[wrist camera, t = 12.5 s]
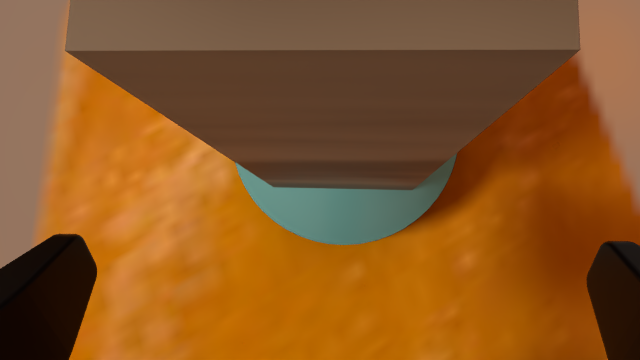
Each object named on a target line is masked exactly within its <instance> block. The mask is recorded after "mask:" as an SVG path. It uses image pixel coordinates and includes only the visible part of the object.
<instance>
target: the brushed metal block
mask: <svg viewBox="0 0 640 360" xmlns="http://www.w3.org/2000/svg"><path fill="white" fill-rule="evenodd" d="M579 50H580V34H579V14H578V0H70V9H69V19H68V28H67V37H66V46H65V51H66V52H68V53H69V54H71V55H72V56H74V57H75V58H77V59H78V60H80V61H81V62H83V63H85V64H86V65H88V66H89V67H91V68H92V69H94V70H95V71H97V72H98V73H100V74H101V75H103V76H104V77H106V78H107V79H109V80H110V81H112V82H114V83H115V84H117V85H118V86H120V87H121V88H123V89H124V90H126V91H127V92H129V93H130V94H132V95H133V96H135V97H136V98H138V99H139V100H141V101H143V102H144V103H146V104H147V105H149V106H150V107H152V108H153V109H155V110H156V111H158V112H159V113H161V114H162V115H164V116H165V117H167V118H168V119H170V120H171V121H173V122H175V123H176V124H178V125H179V126H181V127H182V128H184V129H185V130H187V131H188V132H190V133H191V134H193V135H194V136H196V137H197V138H199V139H200V140H202V141H204V142H205V143H207V144H208V145H210V146H211V147H213V148H214V149H216V150H217V151H219V152H220V153H222V154H223V155H225V156H226V157H228V158H229V159H231V160H232V161H234V162H236V163H237V164H239V165H240V166H242V167H243V168H245V169H246V170H248V171H249V172H251V173H252V174H254V175H255V176H257V177H258V178H260V179H261V180H263V181H265V182H266V183H268V184H269V185H271V186H272V187H278V188H325V189H372V190H413V189H414V188H416V187H417V186H418V185H419V184H420V183H422V182H423V181H424V180H425V179H426V178H428V177H429V176H430V175H431V174H432V173H433V172H435V171H436V170H437V169H438V168H439V167H441V166H442V165H443V164H444V163H445V162H447V161H448V160H449V159H450V158H451V157H453V156H454V155H455V154H456V153H457V152H459V151H460V150H461V149H462V148H463V147H465V146H466V145H467V144H468V143H469V142H470V141H472V140H473V139H474V138H475V137H476V136H478V135H479V134H480V133H481V132H482V131H484V130H485V129H486V128H487V127H488V126H490V125H491V124H492V123H493V122H494V121H496V120H497V119H498V118H499V117H500V116H502V115H503V114H504V113H505V112H506V111H508V110H509V109H510V108H511V107H512V106H513V105H515V104H516V103H517V102H518V101H519V100H521V99H522V98H523V97H524V96H525V95H527V94H528V93H529V92H530V91H531V90H533V89H534V88H535V87H536V86H537V85H539V84H540V83H541V82H542V81H543V80H545V79H546V78H547V77H548V76H549V75H550V74H552V73H553V72H554V71H555V70H556V69H558V68H559V67H560V66H561V65H562V64H564V63H565V62H566V61H567V60H568V59H570V58H571V57H572V56H573V55H574V54H576V53H577V52H578V51H579Z"/></svg>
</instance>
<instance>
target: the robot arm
mask: <svg viewBox="0 0 640 360" xmlns="http://www.w3.org/2000/svg"><path fill="white" fill-rule="evenodd" d="M96 277H97V267H96V263H95V261H94V259H93V257H92V255H91V253H90V251H89V249H88V247H87V245H86V243H85V241H84V239H83V238H82V237H81V236H80V235H77V234H56V235H53V236H52V237H50V238H48V239H47V240H45V241H44V242H42V243H40V244H39V245H37V246H36V247H34V248H32V249H31V250H29V251H28V252H26V253H25V254H23V255H22V256H20V257H18V258H17V259H15V260H13V261H12V262H10V263H9V264H7V265H6V266H4V267H2V268H1V269H0V360H69V358H70V355H71V353H72V350H73V347H74V344H75V341H76V338H77V335H78V332H79V329H80V326H81V323H82V320H83V317H84V314H85V311H86V308H87V305H88V302H89V299H90V296H91V293H92V290H93V287H94V284H95V281H96ZM587 288H588V292H589V295H590V299H591V302H592V306H593V309H594V313H595V316H596V319H597V323H598V326H599V330H600V333H601V337H602V340H603V343H604V347H605V350H606V354H607V357H608V360H640V246H639V245H637V244H635V243H633V242H629V241H607V242H605V243H603V244H602V245H601V247H600V248H599V250H598V253H597V255H596V257H595V259H594V261H593V263H592V265H591V268H590V270H589V272H588V275H587Z"/></svg>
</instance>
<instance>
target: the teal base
mask: <svg viewBox="0 0 640 360" xmlns="http://www.w3.org/2000/svg"><path fill="white" fill-rule="evenodd" d="M456 156H457V153H456V154H455V155H454V156H453V157H451V158H450V159H449V160H448V161H447V162H445V163H444V164H443V165H442V166H441V167H439V168H438V169H437V170H436V171H435V172H433V173H432V174H431V175H430V176H429V177H428V178H426V179H425V180H424V181H423V182H422V183H420V184H419V185H418V186H417V187H416V188H414V189H413V190H372V189H325V188H278V187H272V186H271V185H269V184H268V183H266V182H265V181H263V180H261V179H260V178H258V177H257V176H255V175H254V174H252V173H251V172H249V171H248V170H246V169H245V168H243V167H242V166H240V165H239V164H237V163H236V162H235V163H236V166H237V169H238V172H239V175H240V177H241V180H242V182H243V184H244V186H245V188H246V189H247V191H248V193H249V194H250V196H251V197H252V199H253V200H254V201H255V202H256V204H257V205H258V206H259V207H260V208H261V209H262V211H263V212H264V213H266V214H267V215H268V216H269V217H270V218H271V219H272V220H273V221H275V222H276V223H278V224H279V225H281V226H282V227H284V228H285V229H287V230H289V231H291V232H293V233H295V234H297V235H299V236H301V237H304V238H307V239H310V240H313V241H317V242H322V243H327V244H339V245H350V244H361V243H366V242H371V241H376V240H379V239H381V238H384V237H387V236H390V235H392V234H394V233H396V232H398V231H400V230H402V229H404V228H405V227H407V226H408V225H410V224H411V223H413V222H414V221H415V220H417V219H418V218H419V217H420V216H421V215H422V214H423V213H424V212H426V211H427V210H428V209H429V207H430V206H431V205H432V204H433V203H434V202H435V200H436V199H437V198H438V196H439V195H440V193H441V192H442V190H443V189H444V187H445V185H446V183H447V181H448V179H449V177H450V175H451V173H452V170H453V166H454V163H455V160H456Z"/></svg>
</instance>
